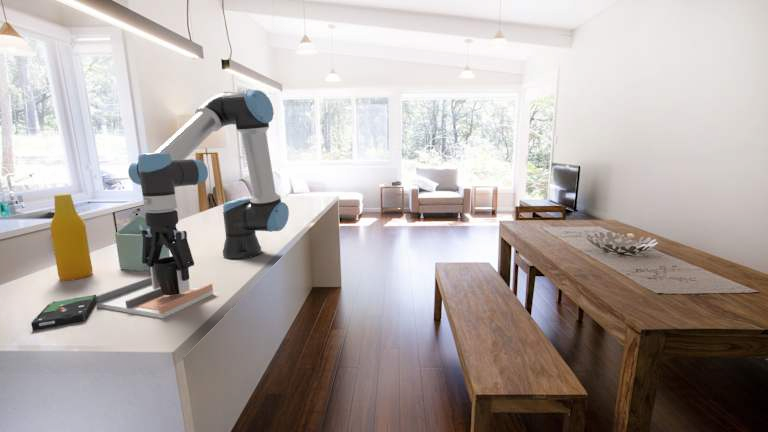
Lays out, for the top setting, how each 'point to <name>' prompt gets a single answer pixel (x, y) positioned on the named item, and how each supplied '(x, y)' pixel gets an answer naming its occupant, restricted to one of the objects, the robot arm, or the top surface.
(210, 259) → the top surface
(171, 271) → the mug
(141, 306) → the slot rack
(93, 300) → the disk drive
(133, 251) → the planter
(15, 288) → the top surface
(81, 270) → the beer bottle
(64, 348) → the top surface
